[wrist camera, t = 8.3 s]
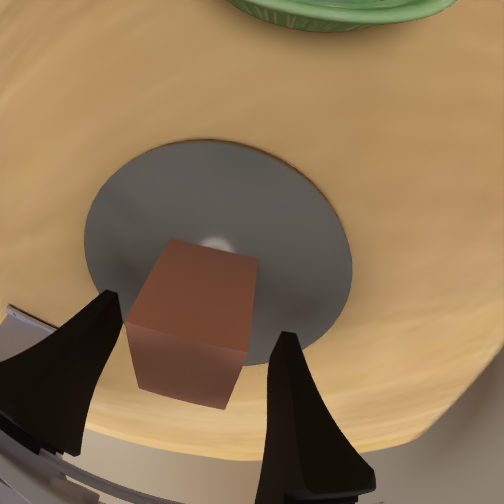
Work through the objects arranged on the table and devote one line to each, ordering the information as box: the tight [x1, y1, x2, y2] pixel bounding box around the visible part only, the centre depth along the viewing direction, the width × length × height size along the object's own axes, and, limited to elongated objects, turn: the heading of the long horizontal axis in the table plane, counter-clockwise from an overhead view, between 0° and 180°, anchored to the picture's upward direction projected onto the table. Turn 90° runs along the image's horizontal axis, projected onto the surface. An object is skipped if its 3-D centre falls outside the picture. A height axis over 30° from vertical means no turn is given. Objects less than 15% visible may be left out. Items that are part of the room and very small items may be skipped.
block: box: [125, 238, 258, 410], centre depth 12 cm, size 4×5×5 cm
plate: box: [84, 139, 352, 366], centre depth 14 cm, size 14×14×1 cm
